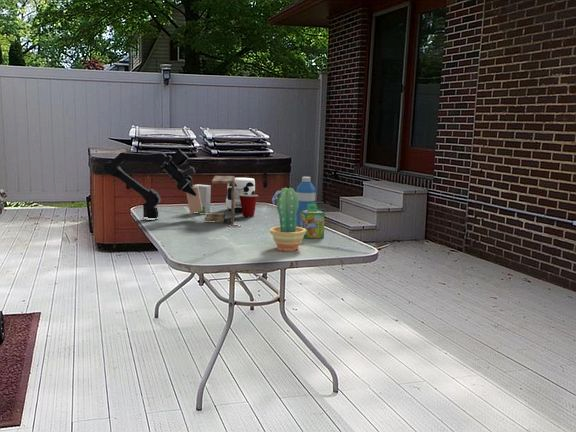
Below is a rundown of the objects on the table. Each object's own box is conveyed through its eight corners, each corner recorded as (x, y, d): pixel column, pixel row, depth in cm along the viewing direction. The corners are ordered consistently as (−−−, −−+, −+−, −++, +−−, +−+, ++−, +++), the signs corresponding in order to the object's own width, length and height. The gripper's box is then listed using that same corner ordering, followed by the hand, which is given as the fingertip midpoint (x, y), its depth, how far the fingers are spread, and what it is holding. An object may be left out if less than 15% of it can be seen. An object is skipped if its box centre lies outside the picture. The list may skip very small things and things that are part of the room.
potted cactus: (285, 242, 252) (286, 184, 248) (313, 248, 243) (315, 188, 238) (261, 248, 240) (261, 187, 236) (290, 254, 231) (291, 191, 227)
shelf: (203, 224, 290) (203, 180, 286) (207, 216, 313) (207, 175, 310) (233, 224, 291) (233, 181, 287) (234, 216, 314) (234, 176, 311)
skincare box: (192, 213, 321) (191, 185, 318) (197, 211, 327) (197, 184, 324) (206, 214, 318) (205, 186, 316) (211, 212, 324) (211, 184, 322)
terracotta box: (190, 213, 297) (185, 189, 295) (191, 211, 303) (186, 187, 301) (201, 211, 298) (197, 187, 295) (202, 209, 303) (198, 185, 301)
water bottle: (313, 230, 280) (314, 178, 275) (293, 229, 281) (294, 177, 277) (316, 227, 289) (317, 176, 284) (297, 226, 290) (298, 175, 286)
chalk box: (305, 238, 261) (305, 206, 258) (299, 234, 270) (299, 202, 267) (324, 238, 263) (325, 205, 261) (318, 234, 272) (319, 202, 270)
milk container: (246, 207, 347) (246, 176, 344) (261, 211, 333) (262, 179, 330) (220, 209, 337) (220, 178, 334) (235, 213, 323) (235, 181, 320)
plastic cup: (259, 215, 320) (260, 193, 318) (256, 218, 310) (257, 195, 308) (240, 214, 321) (240, 192, 319) (236, 217, 311) (236, 195, 309)
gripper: (183, 162, 286) (206, 185, 289) (187, 159, 305) (209, 181, 307) (167, 178, 287) (190, 201, 290) (172, 174, 306) (193, 196, 308)
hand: (196, 194), depth 299 cm, fingers closed on terracotta box, 5 cm apart
